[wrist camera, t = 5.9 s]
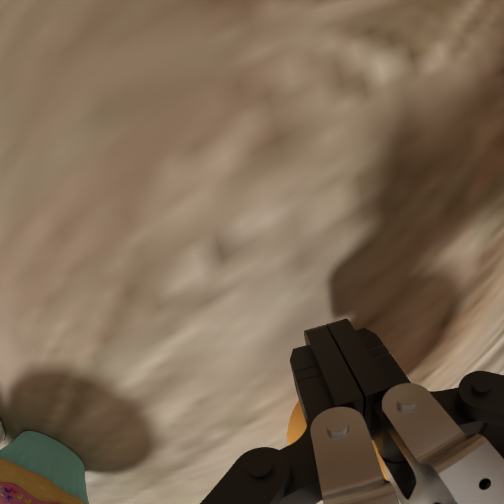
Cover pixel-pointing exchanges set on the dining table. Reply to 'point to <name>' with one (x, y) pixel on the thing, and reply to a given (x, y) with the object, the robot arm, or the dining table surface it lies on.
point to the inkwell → (1, 433)
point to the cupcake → (40, 472)
